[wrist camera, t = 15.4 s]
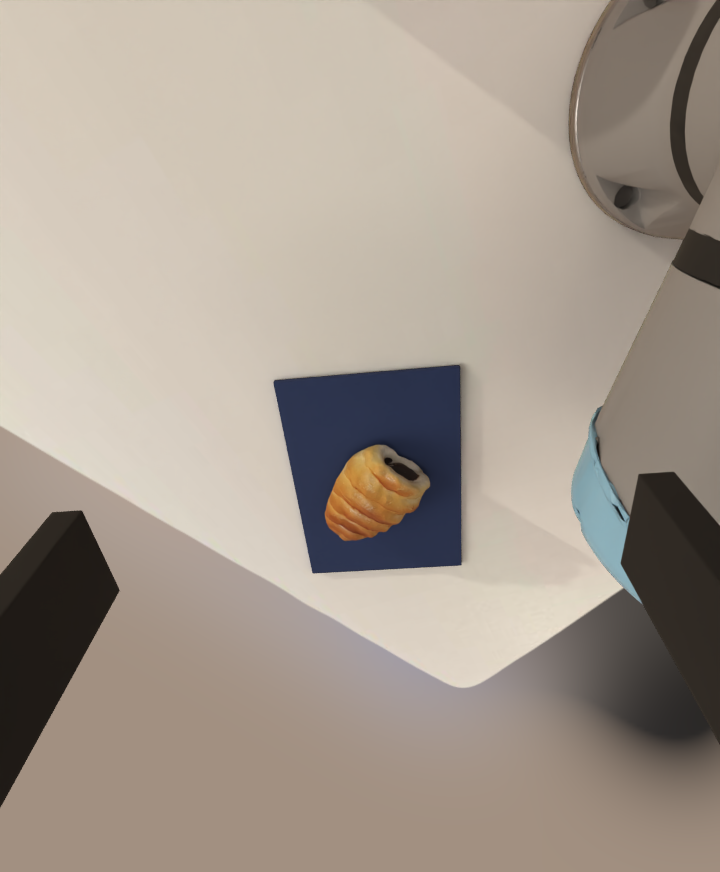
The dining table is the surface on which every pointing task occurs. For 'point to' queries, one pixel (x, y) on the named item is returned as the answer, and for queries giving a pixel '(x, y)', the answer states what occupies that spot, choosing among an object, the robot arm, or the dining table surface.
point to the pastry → (374, 493)
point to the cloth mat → (367, 426)
